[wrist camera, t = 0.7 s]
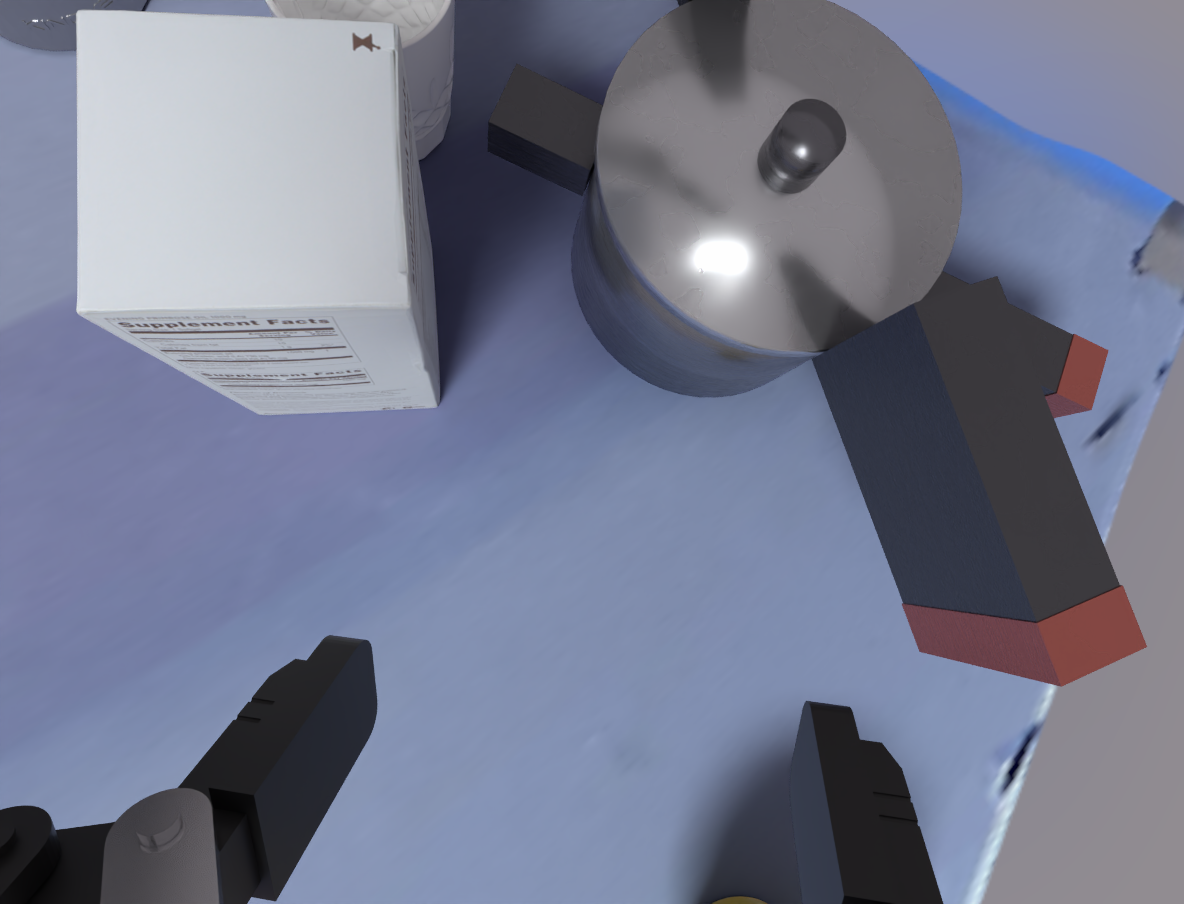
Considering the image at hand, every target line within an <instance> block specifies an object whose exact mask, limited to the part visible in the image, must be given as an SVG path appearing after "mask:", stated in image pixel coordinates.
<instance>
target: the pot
mask: <svg viewBox="0 0 1184 904" xmlns="http://www.w3.org/2000/svg"><path fill="white" fill-rule="evenodd" d="M602 108H603V105H601V104H599V103H596V102H594V101H592V100H590V99H588V98H586V97H584V96H582V95H580V94H578V93H576V92H574V91H572V90H570V89H568V88H566V87H564V86H562V85H560V84H558V83H555V82H553V81H551V80H549V79H547V78H545V77H543V76H541V75H539V74H537V73H535V72H533V71H531V70H529V69H527V68H525V67H523V66H521V65H519V64H516V66H515V68H514V70H513V72H512V74H511V76H510V79H509V81H508V83H507V85H506V87H505V89H504V91H503V93H502V95H501V97H500V99H499V101H498V103H497V105H496V107H495V109H494V111H493V113H492V115H491V118H490V120H489V122H488V152H490V153H492V154H494V155H496V156H499V157H501V158H503V159H505V160H507V161H509V162H511V163H513V164H516V165H518V166H520V167H522V168H524V169H526V170H528V171H530V172H532V173H535V174H537V175H539V176H541V177H543V178H545V179H547V180H549V181H551V182H554V183H556V184H558V185H560V186H562V187H564V188H566V189H568V190H570V191H573V192H575V193H577V194H579V195H581V196H582V195H583V193H584V191H585V189H586V187H587V184H588V182H589V180H590V182H589V185H588V188H587V192H586V195H585V198H584V201H583V204H582V208H581V211H580V214H579V217H578V220H577V224H576V228H575V232H574V236H573V243H572V252H571V263H572V276H573V283H574V288H575V292H576V295H577V299H578V302H579V305H580V307H581V310H582V312H583V314H584V317H585V319H586V321H587V323H588V324H589V326H590V328H591V329H592V331H593V333H594V334H595V336H596V337H597V339H598V340H599V341H600V342H601V344H602V345H603V346H604V348H605V349H606V350H607V351H608V352H609V353H610V354H611V355H612V356H613V357H614V358H615V359H616V360H617V361H618V362H619V363H620V364H621V365H623V366H624V367H625V368H627V369H628V370H629V371H631V372H632V373H633V374H635V375H636V376H638V377H640V378H642V379H643V380H645V381H647V382H648V383H651V384H653V385H655V386H658V387H660V388H662V389H665V390H668V391H671V392H675V393H678V394H682V395H688V396H695V397H723V396H731V395H736V394H740V393H744V392H747V391H750V390H753V389H755V388H758V387H760V386H762V385H765V384H766V383H768V382H770V381H772V380H774V379H776V378H777V377H779V376H781V375H783V374H785V373H786V372H788V371H790V370H792V369H794V368H795V367H797V366H799V365H801V364H803V363H805V362H806V361H808V360H810V359H812V358H814V357H815V356H817V355H814V356H805V357H774V356H768V355H762V354H756V353H750V352H747V351H743V350H740V349H737V348H733V347H730V346H727V345H724V344H722V343H720V342H718V341H715V340H713V339H711V338H709V337H706V336H704V335H702V334H701V333H699V332H697V331H696V330H694V329H692V328H691V327H689V326H687V325H686V324H684V323H683V322H681V321H680V320H679V319H677V318H676V317H675V316H673V315H672V314H671V313H670V312H668V311H667V310H666V309H665V308H663V307H662V306H661V305H660V304H659V303H658V302H657V301H656V300H655V299H654V298H653V297H652V296H651V295H650V294H649V293H648V292H647V291H646V290H645V289H644V288H643V286H642V285H641V284H640V283H639V281H638V280H637V279H636V277H635V276H634V275H633V274H632V272H631V271H630V270H629V268H628V267H627V265H626V264H625V262H624V260H623V258H622V257H621V255H620V253H619V252H618V250H617V248H616V247H615V245H614V242H613V240H612V238H611V235H610V233H609V231H608V228H607V226H606V224H605V221H604V218H603V214H602V211H601V207H600V204H599V200H598V195H597V188H596V181H595V175H594V148H595V140H596V132H597V126H598V122H599V119H600V115H601V111H602ZM590 178H591V179H590ZM968 285H970V284H968V283H966V282H964V281H962V280H959V279H957V278H955V277H953V276H951V275H949V274H947V273H945V272H943V271H942V272H941V274H940V276H939V277H938V278H937V280H936V281H935V283H934V284H933V286H932V287H931V289H930V290H929V292H928V293H927V294H926V295H925V296H924V297H923V298H922V299H921V301H922V300H925V299H928V298H931V297H934V296H937V295H940V294H943V293H946V292H950V291H953V290H956V289H959V288H962V287H965V286H968ZM1008 305H1009V307H1010V310H1011V312H1012V315H1013V317H1014V320H1015V322H1016V325H1017V327H1018V330H1019V332H1020V335H1021V337H1022V340H1023V342H1024V345H1025V348H1026V350H1027V353H1028V355H1029V358H1030V360H1031V363H1032V365H1033V368H1034V370H1035V373H1036V375H1037V378H1038V380H1039V383H1040V385H1041V388H1042V390H1043V393H1044V395H1045V398H1046V400H1047V403H1048V406H1049V408H1050V411H1051V413H1052V416H1053V418H1057V417H1061V416H1066V415H1070V414H1075V413H1080V412H1084V411H1089V410H1092V406H1093V403H1094V399H1095V396H1096V392H1097V389H1098V385H1099V382H1100V378H1101V375H1102V371H1103V368H1104V364H1105V361H1106V357H1107V354H1108V350H1106V349H1104V348H1102V347H1100V346H1098V345H1096V344H1094V343H1092V342H1090V341H1088V340H1086V339H1084V338H1082V337H1080V336H1078V335H1076V334H1073V335H1072V334H1070V333H1068V332H1066V331H1064V330H1062V329H1060V328H1058V327H1056V326H1054V325H1052V324H1050V323H1048V322H1046V321H1044V320H1041V319H1039V318H1037V317H1035V316H1033V315H1031V314H1029V313H1027V312H1025V311H1023V310H1021V309H1019V308H1017V307H1015V306H1013V305H1011V304H1009V303H1008Z"/></svg>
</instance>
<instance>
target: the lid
mask: <svg viewBox="0 0 1184 904" xmlns="http://www.w3.org/2000/svg"><path fill="white" fill-rule="evenodd" d="M677 1H678V4H679V7H678V8H676V9H674V10H673V11H671V12H670V13H668V14H666V15H665V16H663V17H662V18H660V19H659V20H658V21H657V22H656V23H654V24H653V25H652V26H651V27H650V28H649V29H648V30H646V31H645V32H644V33H643V34H642V35H641V36H640V38H639V39H638V40H637V41H636V42H635V43H634V45H633V46H632V47H631V48H630V49H629V51H628V52H627V54H626V55H625V57H624V59H623V60H622V62H621V63H620V65H619V66H618V68H617V70H616V72H615V74H614V77H613V79H612V81H611V84H610V86H609V88H608V90H607V94H606V97H605V101H604V104H603V108H602V111H601V115H600V119H599V122H598V126H597V132H596V140H595V148H594V175H595V181H596V188H597V195H598V200H599V204H600V207H601V211H602V214H603V218H604V221H605V224H606V226H607V228H608V231H609V233H610V235H611V238H612V240H613V242H614V245H615V247H616V248H617V250H618V252H619V253H620V255H621V257H622V258H623V260H624V262H625V264H626V265H627V267H628V268H629V270H630V271H631V272H632V274H633V275H634V276H635V277H636V279H637V280H638V281H639V283H640V284H641V285H642V286H643V288H644V289H645V290H646V291H647V292H648V293H649V294H650V295H651V296H652V297H653V298H654V299H655V300H656V301H657V302H658V303H659V304H660V305H661V306H662V307H663V308H665V309H666V310H667V311H668V312H670V313H671V314H672V315H673V316H675V317H676V318H677V319H679V320H680V321H681V322H683V323H684V324H686V325H687V326H689V327H691V328H692V329H694V330H696V331H697V332H699V333H701V334H702V335H704V336H706V337H709V338H711V339H713V340H715V341H718V342H720V343H722V344H724V345H727V346H730V347H733V348H737V349H740V350H743V351H747V352H750V353H756V354H762V355H768V356H774V357H805V356H814V355H818V356H816V357H815V358H813V359H812V361H813V364H814V366H815V369H816V372H817V374H818V377H819V380H820V382H821V385H822V388H823V390H824V393H825V396H826V398H827V401H828V404H829V406H830V409H831V412H832V414H833V417H834V420H835V422H836V425H837V428H838V430H839V433H840V436H841V438H842V441H843V444H844V446H845V449H846V452H847V454H848V457H849V460H850V462H851V465H852V468H853V470H854V473H855V476H856V478H857V481H858V484H859V486H860V489H861V492H862V494H863V497H864V500H865V502H866V505H867V508H868V510H869V513H870V516H871V518H872V521H873V524H874V526H875V529H876V532H877V534H878V537H879V540H880V542H881V545H882V548H883V550H884V553H885V556H886V558H887V561H888V564H889V566H890V569H891V572H892V574H893V577H894V580H895V582H896V585H897V588H898V590H899V593H900V596H901V598H902V601H903V603H902V606H903V609H904V611H905V614H906V617H907V619H908V622H909V625H910V627H911V630H912V633H913V635H914V638H915V641H916V643H917V646H918V649H919V651H920V652H923V653H927V654H931V655H935V656H939V657H943V658H947V659H951V660H955V661H960V662H964V663H968V664H972V665H976V666H980V667H984V668H988V669H992V670H996V671H1000V672H1004V673H1008V674H1012V675H1017V676H1021V677H1025V678H1029V679H1033V680H1037V681H1041V682H1045V683H1049V684H1053V685H1057V686H1064V685H1066V684H1068V683H1070V682H1072V681H1074V680H1077V679H1079V678H1081V677H1083V676H1085V675H1087V674H1090V673H1092V672H1094V671H1096V670H1098V669H1100V668H1103V667H1104V666H1107V665H1109V664H1111V663H1113V662H1115V661H1117V660H1120V659H1122V658H1124V657H1126V656H1128V655H1131V654H1133V653H1135V652H1137V651H1139V650H1141V649H1144V648H1146V647H1147V646H1146V643H1145V640H1144V638H1143V635H1142V633H1141V630H1140V628H1139V625H1138V623H1137V620H1136V618H1135V615H1134V613H1133V610H1132V608H1131V605H1130V603H1129V600H1128V598H1127V595H1126V593H1125V590H1124V587H1123V586H1122V585H1119V582H1118V579H1117V578H1116V575H1115V572H1114V569H1113V567H1112V565H1111V562H1110V559H1109V557H1108V554H1107V552H1106V549H1105V547H1104V544H1103V542H1102V539H1101V537H1100V534H1099V532H1098V529H1097V527H1096V524H1095V521H1094V519H1093V516H1092V514H1091V511H1090V509H1089V506H1088V504H1087V501H1086V499H1085V496H1084V494H1083V491H1082V489H1081V486H1080V484H1079V481H1078V479H1077V476H1076V474H1075V471H1074V469H1073V466H1072V463H1071V461H1070V458H1069V456H1068V453H1067V451H1066V448H1065V446H1064V443H1063V441H1062V438H1061V436H1060V433H1059V431H1058V428H1057V426H1056V423H1055V421H1054V418H1053V416H1052V413H1051V411H1050V408H1049V406H1048V403H1047V400H1046V398H1045V395H1044V393H1043V390H1042V388H1041V385H1040V383H1039V380H1038V378H1037V375H1036V373H1035V370H1034V368H1033V365H1032V363H1031V360H1030V358H1029V355H1028V353H1027V350H1026V348H1025V345H1024V342H1023V340H1022V337H1021V335H1020V332H1019V330H1018V327H1017V325H1016V322H1015V320H1014V317H1013V315H1012V312H1011V310H1010V307H1009V305H1008V302H1007V300H1006V297H1005V295H1004V292H1003V290H1002V287H1001V284H1000V282H999V279H998V277H997V276H996V277H993V278H990V279H987V280H984V281H981V282H977V283H974V284H971V285H968V286H965V287H962V288H959V289H956V290H953V291H950V292H946V293H943V294H940V295H937V296H934V297H931V298H928V299H925V300H922V301H921V299H922V298H923V297H924V296H925V295H926V294H927V293H928V292H929V290H930V289H931V287H932V286H933V284H934V283H935V281H936V280H937V278H938V277H939V276H940V274H941V272H942V270H943V268H944V266H945V264H946V262H947V260H948V258H949V256H950V254H951V250H952V247H953V244H954V241H955V238H956V235H957V231H958V226H959V220H960V214H961V203H962V179H961V167H960V161H959V156H958V151H957V146H956V142H955V139H954V136H953V133H952V130H951V127H950V124H949V121H948V119H947V116H946V114H945V112H944V110H943V108H942V106H941V104H940V101H939V99H938V98H937V96H936V94H935V93H934V91H933V89H932V88H931V86H930V84H929V83H928V81H927V80H926V78H925V77H924V75H923V74H922V73H921V72H920V70H919V69H918V68H917V66H916V65H915V64H914V63H913V61H912V60H911V59H910V58H909V57H908V56H907V55H906V54H905V53H904V52H903V51H902V50H901V49H900V48H899V47H898V46H897V44H896V43H895V42H893V41H892V40H891V39H890V38H888V37H887V36H886V35H885V34H884V33H882V32H881V31H880V30H879V29H878V28H876V27H875V26H873V25H871V24H870V23H869V22H867V21H866V20H864V19H863V18H861V17H860V16H858V15H857V14H855V13H853V12H850V11H849V10H847V9H845V8H843V7H841V6H839V5H837V4H835V3H832V2H829V1H826V0H677Z"/></svg>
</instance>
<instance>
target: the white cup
mask: <svg viewBox="0 0 1184 904" xmlns="http://www.w3.org/2000/svg"><path fill="white" fill-rule="evenodd" d="M265 2H266V4H267V6H268V8H269V10H270V12H271V15H272V17H281V18H306V19H330V20H350V21H371V22H386V23H395V24H396V25H398V27H399V31H400V37H401V44H402V50H403V56H404V63H405V69H406V76H407V82H408V89H409V95H410V101H411V108H412V118H413V125H414V134H415V143H416V149H417V155H418V160H421V159H424V158H425V157H426V156H427V155H428V154H429V153H430V152H431V151H432V150H433V149H434V148H435V147H436V146H437V145H438V144H439V143H440V142H441V141H442V140H443V138H444V135H445V132H446V128H447V125H448V122H449V119H450V116H451V92H452V84H453V63H454V46H455V0H265Z"/></svg>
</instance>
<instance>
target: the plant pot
mask: <svg viewBox="0 0 1184 904" xmlns="http://www.w3.org/2000/svg"><path fill="white" fill-rule="evenodd" d="M712 904H768V903H766V902H764V901H761V900H759V899H756V898H751V897H744V896H736V897H728V898H724V899H721V900H718V901H716V902H714V903H712Z"/></svg>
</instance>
